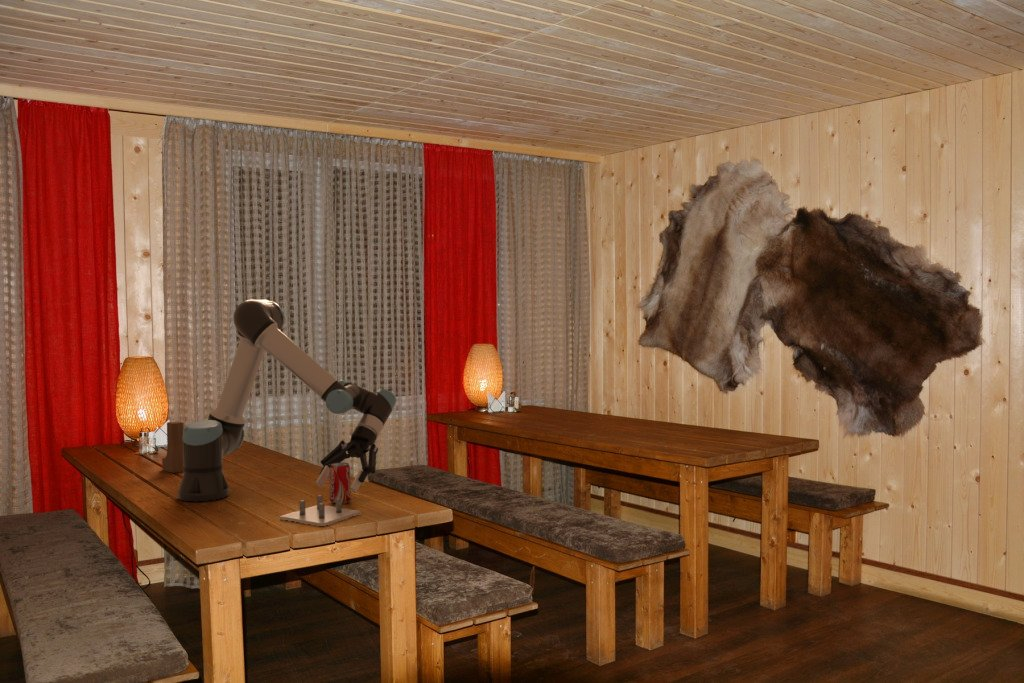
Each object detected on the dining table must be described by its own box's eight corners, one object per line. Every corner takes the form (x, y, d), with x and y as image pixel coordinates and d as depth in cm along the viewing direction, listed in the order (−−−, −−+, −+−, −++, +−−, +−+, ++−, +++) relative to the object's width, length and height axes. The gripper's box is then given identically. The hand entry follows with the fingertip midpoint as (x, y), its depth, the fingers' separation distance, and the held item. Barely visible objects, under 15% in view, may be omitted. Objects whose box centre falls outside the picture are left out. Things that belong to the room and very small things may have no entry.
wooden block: (161, 470, 312) (161, 421, 312) (174, 468, 316) (173, 419, 315) (172, 473, 306) (171, 423, 305) (184, 471, 309) (184, 422, 308)
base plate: (279, 519, 242) (279, 516, 242) (318, 507, 256) (318, 504, 256) (322, 527, 234) (322, 523, 234) (360, 514, 248) (360, 510, 248)
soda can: (343, 499, 267) (343, 460, 266) (354, 502, 262) (354, 463, 262) (326, 502, 263) (325, 463, 262) (336, 505, 258) (336, 466, 258)
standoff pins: (298, 514, 243) (298, 501, 243) (319, 508, 251) (319, 494, 251) (321, 518, 239) (321, 504, 239) (342, 512, 246) (342, 498, 246)
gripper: (403, 442, 269) (373, 499, 257) (342, 436, 281) (310, 490, 269) (393, 427, 264) (362, 485, 252) (331, 422, 277) (298, 476, 264)
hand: (335, 487), depth 260 cm, fingers open, 13 cm apart
